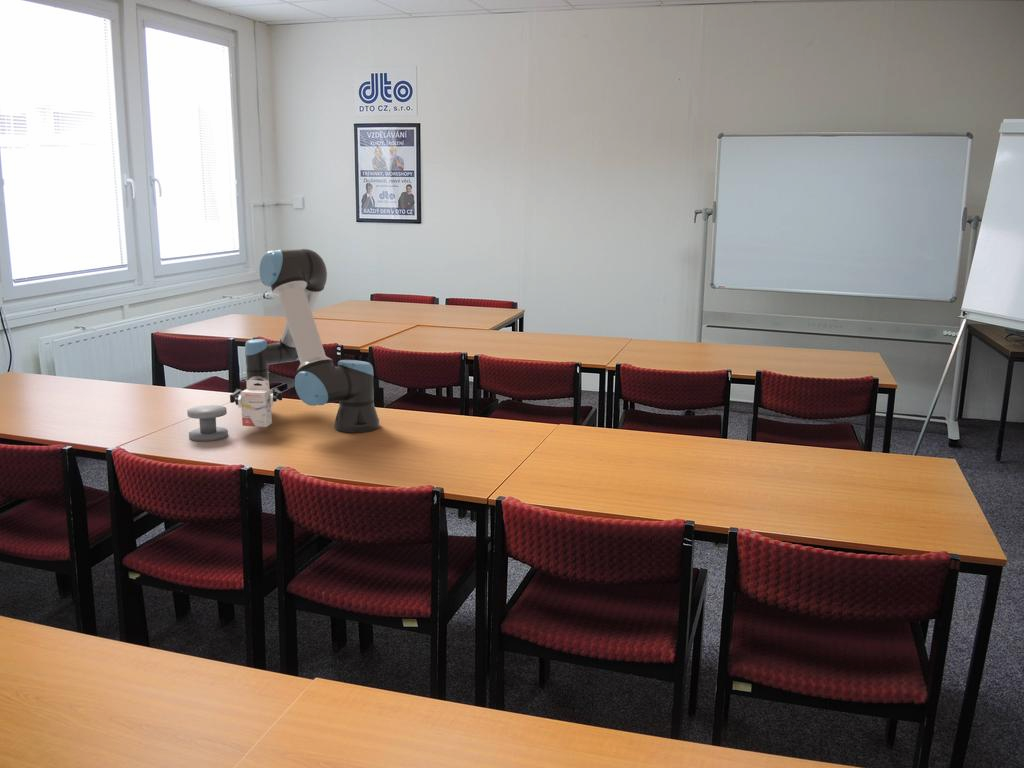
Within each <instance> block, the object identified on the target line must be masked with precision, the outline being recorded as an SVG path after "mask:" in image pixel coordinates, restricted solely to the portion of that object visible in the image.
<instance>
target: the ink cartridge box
mask: <svg viewBox="0 0 1024 768" xmlns="http://www.w3.org/2000/svg"><path fill="white" fill-rule="evenodd" d="M245 382H246V383H245V384H246V386H247V389H246V388H245V389H246V390H245V389H244V390H241V391H242V392H241V421H242V423H241V424H242V427H258V428H260V427H261V428H267V427H268V426H270V425H271V424H273V421H272V420H273V419H272V418H273V417H272V406H271V402H270V390H271V389H270V380H269V381H257V380H247V379H246V381H245ZM257 383H259V384H262V386H255V385H254V384H257Z"/></svg>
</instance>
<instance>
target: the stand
mask: <svg viewBox="0 0 1024 768" xmlns="http://www.w3.org/2000/svg"><path fill="white" fill-rule="evenodd" d="M227 413H228V411H227V407H226V406H224V405H218V404H217V405H215V404H211V405H210V404H207V405H198V406H195V407H193V406H192V407H191V408H188V409H187V413H186V414H187V417H188V418H190V419H197V420H199V428H195V429H193V430H190V431H189V432H188V439H190V440H191V441H194V442H214V441H220V440H223V439H226V438H228V436H229V431H228V429H227V428H225V427H221V426H217V418H220V417H224V416H225V415H227Z"/></svg>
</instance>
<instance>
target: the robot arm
mask: <svg viewBox="0 0 1024 768" xmlns="http://www.w3.org/2000/svg"><path fill="white" fill-rule="evenodd" d="M258 272H259V273H258V274H259V278H260V282H261V283H262V284H263V286H265V287H268V288H269V287H270V288H271V291H272V294H273V296H274V295H275V296H277V297H278V298H279V300H280V304H281V307H282V310H283V314H284V317H285V320H286V322H285V325H284V328H283V331H282V334H281V336H280V339H279V342H273V343H268V342H267V340H266V339H263V338H262V339H261V338H258V339H248V340H246V342H245V345H244V354H245V365H246V381H247V380H257V381H269V382H270V377H269V365H275V364H282V363H283V364H284V363H290V362H291V363H292V362H295V361H299V366H298V367H297V372H298V373H296V375H295V377H294V388H295V391H296V395H297V396H298V398H299V399H300V400H301V402H303V403H304V404H306V405H308V406H311V407H312V406H313V407H315V406H324V405H326V404H330V403H336V402H338V403H339V405H338V408H337V413H336V416H335V420H334V429H335V430H337V431H338V432H339V431H340V432H343V433H366V432H372V431H375V430H377V429H379V428H380V418H379V417H378V416H379V415H378V413H377V410H376V408H375V407H376V406H375V399H374V398H375V396H374V395H375V392H374V391H375V390H374V376H375V374H374V367H373V364H371V363H370V362H368V361H364V360H363V361H362V360H356V359H340V360H338V362H337V366H336V365H334V361H333V359H332V358H330V357H328V356H327V355H326V352H325V349H324V346H323V343H322V339H321V336H320V334H319V330H318V328H317V325H316V322H315V319H314V318H315V317H314V316H313V311H314V309H315V305H316V302H317V300H318V297H319V294H320V293H321V292H323V291H324V289H325V286H326V284H327V280H328V271H327V266H326V263H325V261H324V259H323V258H322V257H321V255H320V254H318V253H317V252H316V251H314V250H312V249H307V248H301V249H298V248H297V249H275V250H269V251H266V252H265V253H264V254H263V255H262V257H261V260H260V263H259V270H258ZM254 385H255V386H262V384H259V383H257V384H254ZM246 389H247V385H246V387H245V389H244V390H246ZM242 391H243V390H242V389H239V388H236V389H235V391H234V392H232V393H231V394H230V395H229V400H230V401H229V402H230V403H231V404H233V403H235V405H236V406H238V409H240V408H241V409H242V407H241V392H242ZM277 401H283V392H282V391H280V390H279V389H278V387H276V386H275V387H273V388H271V389H270V402H271V407H273V406H274V403H275V402H277Z"/></svg>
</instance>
